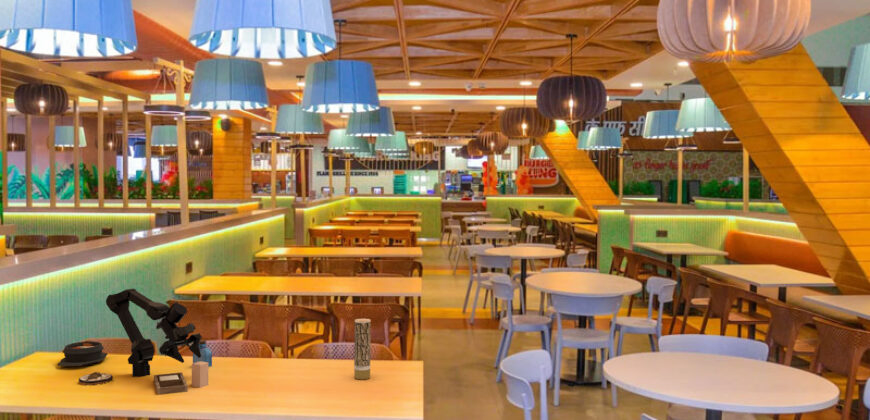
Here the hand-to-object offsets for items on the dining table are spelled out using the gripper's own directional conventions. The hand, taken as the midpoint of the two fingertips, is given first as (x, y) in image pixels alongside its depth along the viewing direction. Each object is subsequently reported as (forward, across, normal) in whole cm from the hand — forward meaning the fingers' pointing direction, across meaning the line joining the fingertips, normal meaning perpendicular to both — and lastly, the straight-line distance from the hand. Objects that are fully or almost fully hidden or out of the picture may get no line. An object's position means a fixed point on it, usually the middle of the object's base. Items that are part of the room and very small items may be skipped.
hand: (192, 359), depth 288 cm
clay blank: (+11, 0, +5) cm, 12 cm away
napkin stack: (0, -3, +14) cm, 14 cm away
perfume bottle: (-5, +24, +20) cm, 32 cm away
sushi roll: (-20, -13, +36) cm, 43 cm away
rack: (+4, -6, +12) cm, 14 cm away
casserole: (-42, +4, +57) cm, 71 cm away
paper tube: (+47, +43, -30) cm, 70 cm away
